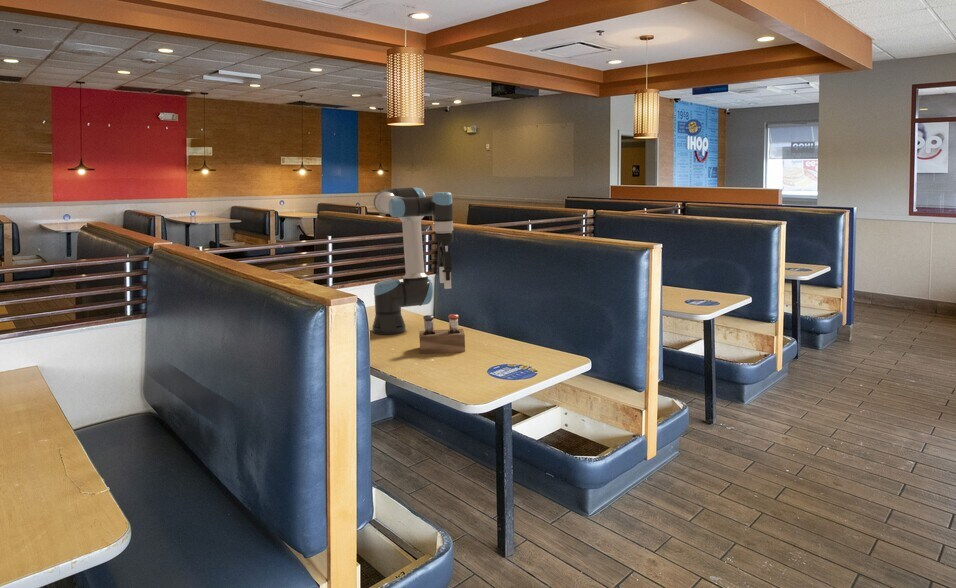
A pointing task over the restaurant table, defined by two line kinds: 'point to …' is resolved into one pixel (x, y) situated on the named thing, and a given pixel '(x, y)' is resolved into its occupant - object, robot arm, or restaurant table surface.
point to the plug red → (453, 323)
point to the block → (442, 342)
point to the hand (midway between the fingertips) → (445, 285)
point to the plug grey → (428, 324)
